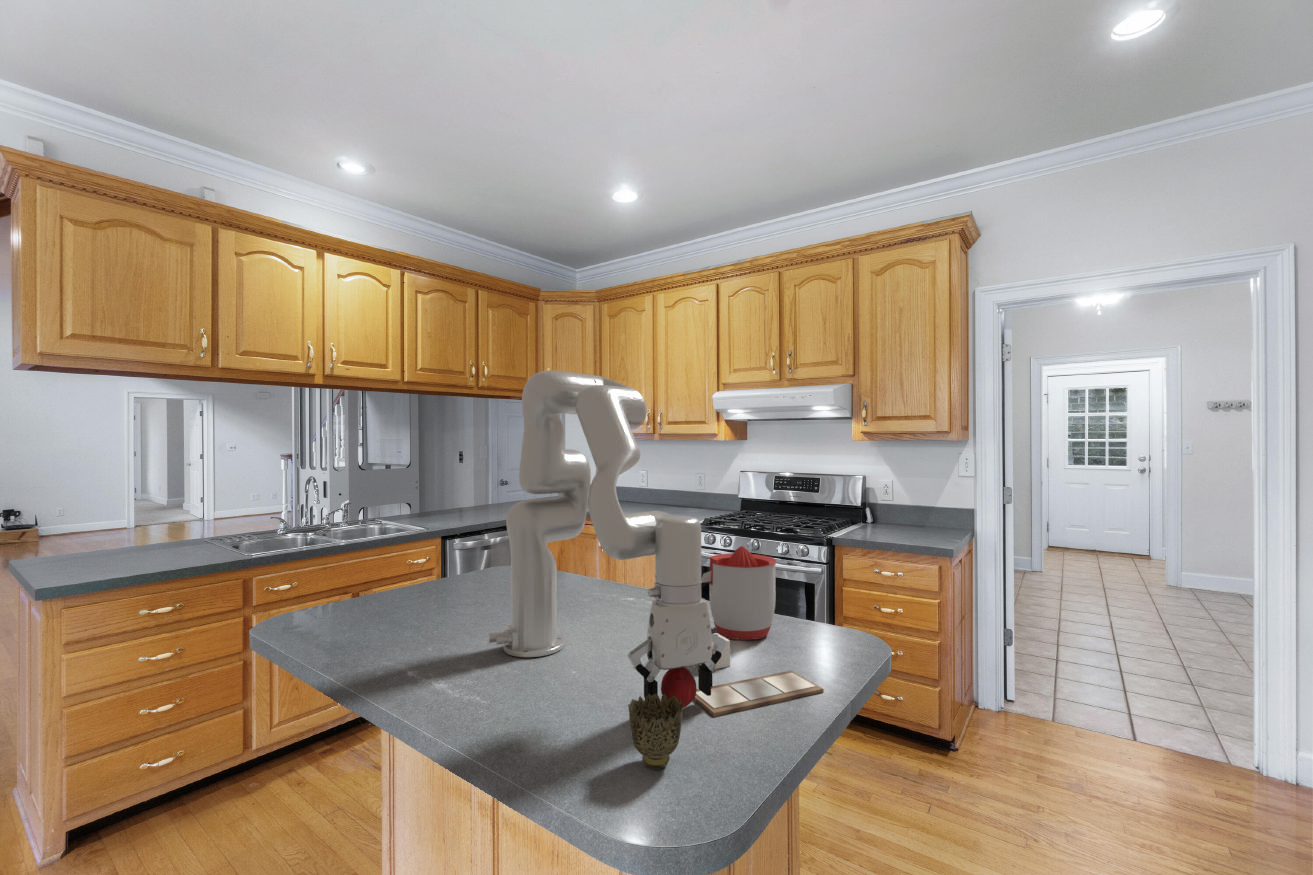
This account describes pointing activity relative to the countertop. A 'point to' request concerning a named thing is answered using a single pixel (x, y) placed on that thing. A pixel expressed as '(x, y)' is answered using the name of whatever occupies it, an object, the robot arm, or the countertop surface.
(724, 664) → the die
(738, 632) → the citrus juicer
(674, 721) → the cup
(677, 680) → the onion
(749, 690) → the brown flat rectangular frame
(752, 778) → the countertop surface
